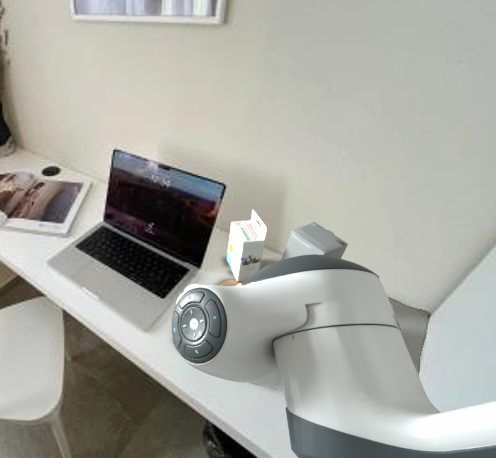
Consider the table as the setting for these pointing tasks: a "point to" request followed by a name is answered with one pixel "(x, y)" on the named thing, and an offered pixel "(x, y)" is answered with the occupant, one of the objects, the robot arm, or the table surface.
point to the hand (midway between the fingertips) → (314, 361)
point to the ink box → (246, 247)
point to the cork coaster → (231, 283)
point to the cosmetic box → (314, 242)
